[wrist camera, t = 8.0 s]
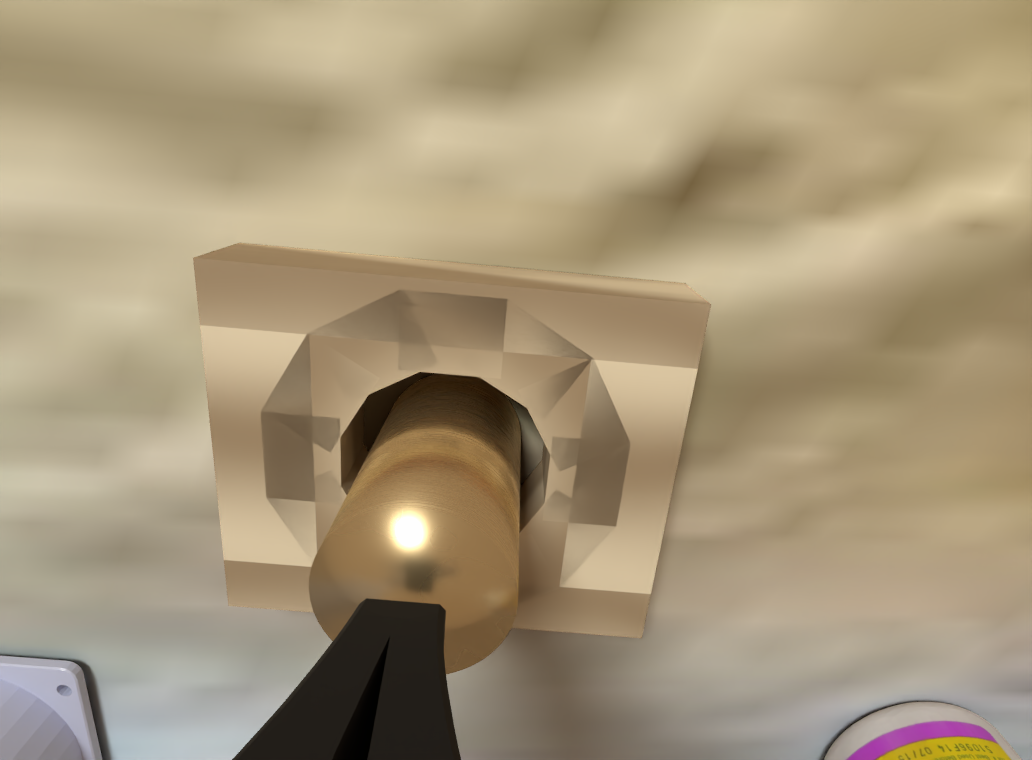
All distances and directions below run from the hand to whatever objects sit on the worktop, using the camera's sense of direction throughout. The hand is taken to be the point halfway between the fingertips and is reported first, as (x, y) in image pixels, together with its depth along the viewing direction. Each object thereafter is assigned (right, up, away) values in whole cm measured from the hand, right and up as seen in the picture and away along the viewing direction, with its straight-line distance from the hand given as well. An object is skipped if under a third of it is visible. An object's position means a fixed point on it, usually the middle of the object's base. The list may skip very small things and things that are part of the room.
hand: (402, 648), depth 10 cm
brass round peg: (0, +3, +8) cm, 8 cm away
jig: (0, +3, +8) cm, 8 cm away
